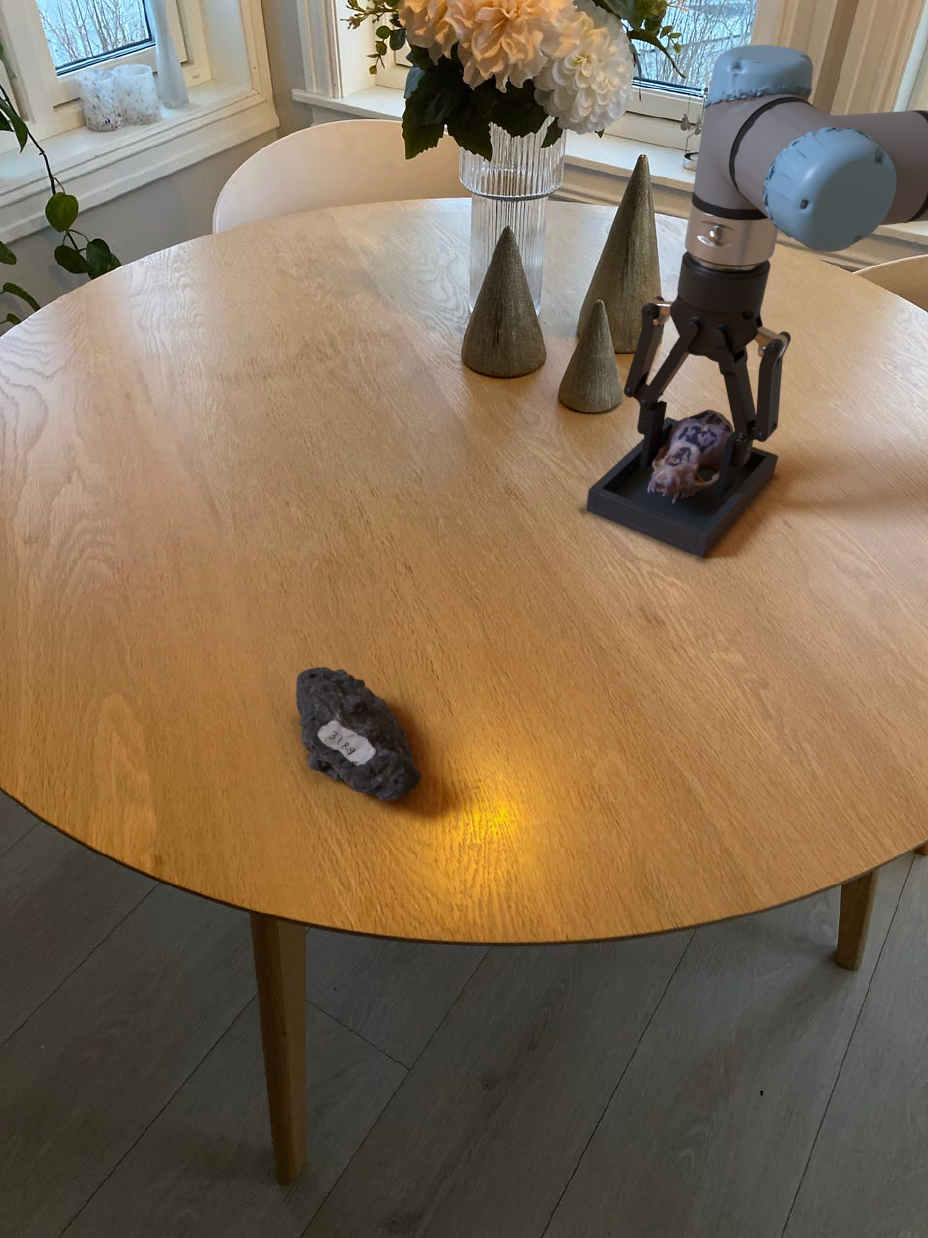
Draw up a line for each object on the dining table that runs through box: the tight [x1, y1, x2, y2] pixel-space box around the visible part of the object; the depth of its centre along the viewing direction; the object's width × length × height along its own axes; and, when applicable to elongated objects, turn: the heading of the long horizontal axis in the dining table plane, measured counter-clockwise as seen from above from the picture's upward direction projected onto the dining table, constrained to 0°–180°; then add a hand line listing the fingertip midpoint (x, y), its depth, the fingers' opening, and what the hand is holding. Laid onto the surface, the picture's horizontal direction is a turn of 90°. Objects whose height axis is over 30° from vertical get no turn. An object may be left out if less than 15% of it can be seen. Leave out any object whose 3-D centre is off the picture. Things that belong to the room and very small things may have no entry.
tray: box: [586, 416, 779, 559], centre depth 99 cm, size 13×17×3 cm
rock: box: [295, 666, 424, 801], centre depth 73 cm, size 12×8×10 cm
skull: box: [648, 409, 734, 503], centre depth 97 cm, size 12×8×6 cm, turn 134°
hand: (685, 475), depth 98 cm, fingers closed on skull, 8 cm apart
